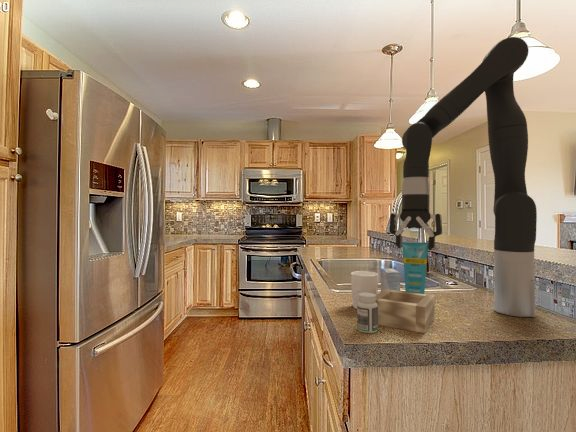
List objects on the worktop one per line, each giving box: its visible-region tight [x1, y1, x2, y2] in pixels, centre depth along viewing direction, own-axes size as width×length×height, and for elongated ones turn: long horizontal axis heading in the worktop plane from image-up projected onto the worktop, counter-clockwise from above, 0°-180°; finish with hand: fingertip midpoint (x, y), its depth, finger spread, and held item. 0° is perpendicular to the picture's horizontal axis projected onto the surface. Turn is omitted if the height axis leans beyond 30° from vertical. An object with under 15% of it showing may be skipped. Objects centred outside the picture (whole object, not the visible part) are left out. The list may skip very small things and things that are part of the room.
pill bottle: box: [356, 293, 379, 334], centre depth 77 cm, size 5×5×8 cm
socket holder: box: [375, 289, 436, 334], centre depth 84 cm, size 13×13×6 cm
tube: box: [401, 241, 429, 294], centre depth 96 cm, size 7×5×19 cm, turn 72°
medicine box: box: [380, 268, 401, 292], centre depth 110 cm, size 8×4×9 cm, turn 179°
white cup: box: [350, 270, 379, 310], centre depth 96 cm, size 8×8×10 cm
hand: (414, 249), depth 96 cm, fingers open, 8 cm apart
